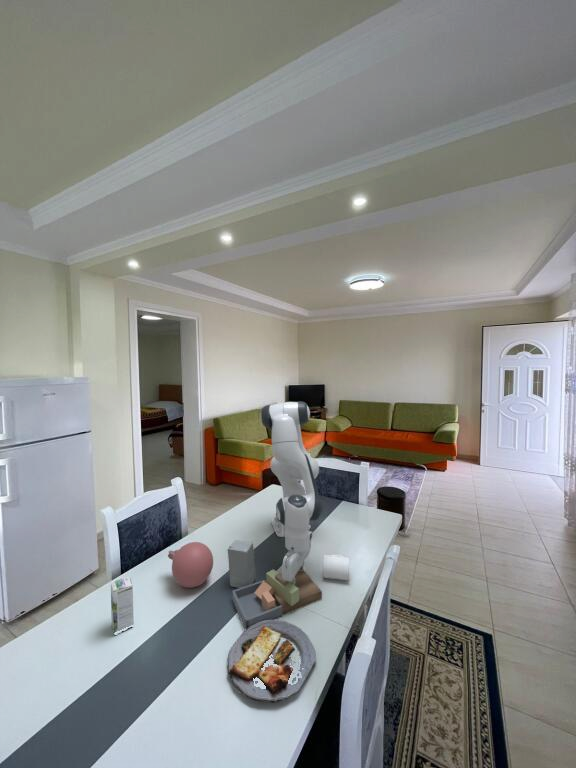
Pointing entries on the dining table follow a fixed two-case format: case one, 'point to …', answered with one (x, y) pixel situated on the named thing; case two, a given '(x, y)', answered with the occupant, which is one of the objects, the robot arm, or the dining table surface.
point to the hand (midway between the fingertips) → (297, 577)
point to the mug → (336, 567)
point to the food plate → (256, 651)
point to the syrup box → (122, 603)
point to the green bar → (282, 587)
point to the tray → (252, 606)
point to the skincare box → (241, 563)
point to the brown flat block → (300, 593)
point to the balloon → (191, 564)
